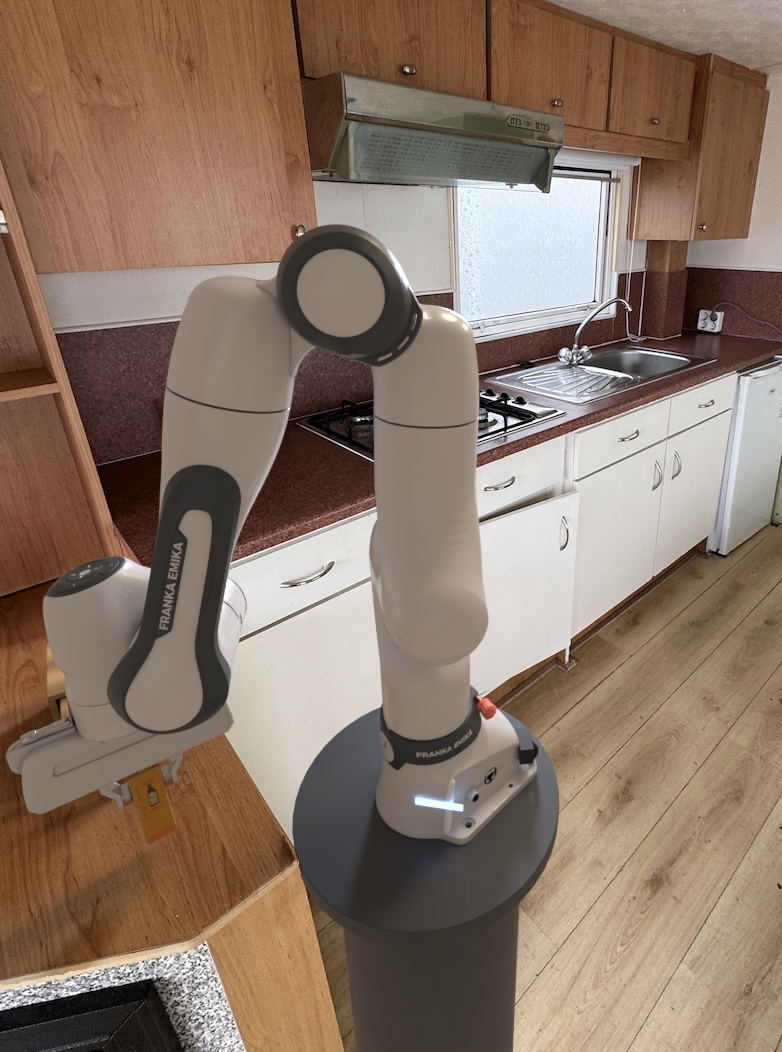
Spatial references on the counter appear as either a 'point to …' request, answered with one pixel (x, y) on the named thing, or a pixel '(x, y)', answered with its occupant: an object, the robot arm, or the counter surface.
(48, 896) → the counter surface
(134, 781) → the supplement box
